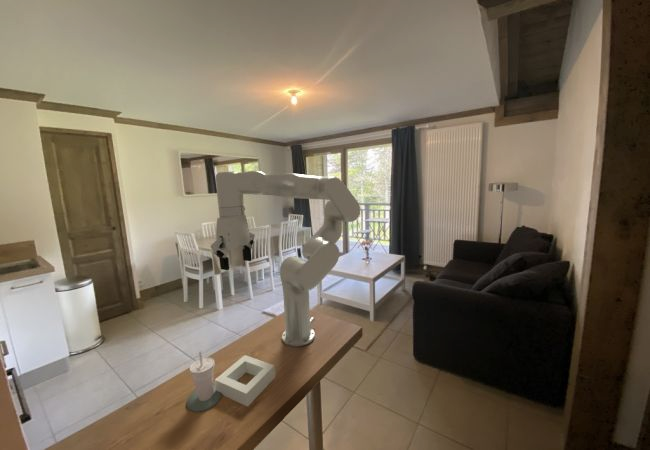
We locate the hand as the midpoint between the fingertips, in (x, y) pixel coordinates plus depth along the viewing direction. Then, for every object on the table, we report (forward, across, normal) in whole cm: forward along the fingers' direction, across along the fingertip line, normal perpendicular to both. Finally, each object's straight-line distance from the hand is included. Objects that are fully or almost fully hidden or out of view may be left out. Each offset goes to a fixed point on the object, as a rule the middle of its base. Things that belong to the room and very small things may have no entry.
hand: (236, 264), depth 86 cm
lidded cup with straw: (+33, +18, +2) cm, 37 cm away
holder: (+33, +9, +9) cm, 36 cm away
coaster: (+33, +18, +2) cm, 38 cm away
